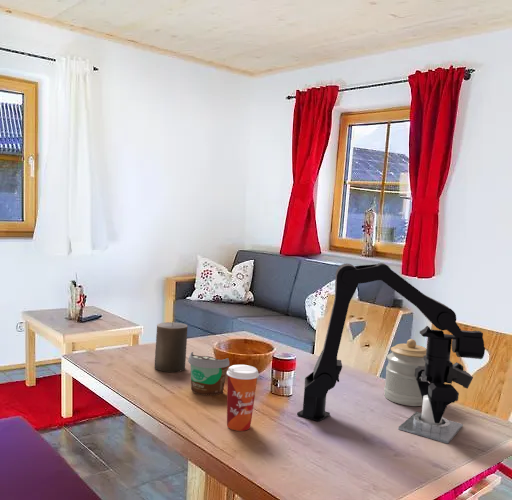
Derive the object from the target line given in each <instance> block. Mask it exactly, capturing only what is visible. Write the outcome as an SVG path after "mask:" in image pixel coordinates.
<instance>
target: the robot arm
mask: <svg viewBox="0 0 512 500" xmlns="http://www.w3.org/2000/svg"><path fill="white" fill-rule="evenodd" d="M334 278H335V280H334V281H335V282H334V286H335V287H334V300H333V304H332V309H331V313H330V318H329V322H328V327H327V330H326V336H325V338H324V339H325V340H324V344H323V348H322V350H321V352H320V354H319V356H318V358H317V360H316V363H315V364H314V367H313V371H312V372H311V373H310V374H308V375H307V376H305V378H304V388H303V389H304V392H303V402H302V403H303V404H302V409H301V410H300V411H298V412H297V413H296V416H299V417H303V418H306V419H309V420H312V421H315V422H321V421H322V420H323V421H324V419H326V418H327V417H329V416H330V415H331V412H329V411H326V403H327V394H328V392H329V391H330V390H331V389H333V388H335V386H336V384H337V383H339V382H340V375H341V371H342V369H343V364H342V360H341V359H338V354H339V350H340V344H341V342H342V336H343V332H344V328H345V325H346V324H345V323H346V318H347V316H348V312H349V306H350V303H351V300H352V299H353V297H354V295H355V293H356V290H357V288H358V286H359V284H367V283H372V282H376V281H382V282H383V283H384V284H385V285H387V286H388V287H390V289H391V288H392V290H394V291H395V292H396V293H397V294H399V295H400V296H402V297H403V298H404V299H406V300H407V301H408V302H410V303H411V304H412V305H413V306H415V307H416V308H417V309H418V311H420V313H422V315H423V316H424V317H425V318H426V319H427V320H428V321H429V323H431V325H433V326H434V327H436V329H431V327H430V326H429V325H426V326H425V327H424V328H423V329H421V330H419V334H420V336H422V337H424V338H427V339H426V356H425V355H424V358H423V359H424V361H425V366H418V367H417V368H416V369H415V377H416V381H417V384H418V387H419V390H420V393H421V396H422V400H423V396H425V395H428V399H429V403H430V407H431V411H432V415H433V418H434V422H435V423H440V421H441V418H442V416H443V417H444V413H445V411H446V409H447V408H448V406H449V405H451V404H454V403H455V402H458V401H459V397H460V396H459V395H460V393H459V391H457V389H456V388H455V387H454V386H453V385H452V384H453V382H454V383H455V384H457V385H460V386H462V388H465V389H469V387H470V385H471V382H472V381H473V379H474V377H473V376H472V375H471V374H470V373H469V372H467V371H466V370H464V365H462V364H461V363H459V362H454V363H453V362H452V361H451V350H452V353H454V354H455V355H456V357H457V358H466V359H473V360H474V359H475V360H476V359H478V360H482V359H483V358H484V357H485V353H486V346H485V341H484V333H483V332H482V331H481V330H463V329H462V328H461V327H460V326H459V324H458V323H457V314H456V312H455V311H454V310H453V309H452V308H450V307H448V306H447V305H445V303H441V302H440V301H439V300H438V301H437V300H436V299H434V298H432V297H430V296H428V295H426V294H424V293H423V292H421V291H420V290H419V289H418V288H417V287H415V286H414V285H412V284H411V283H410V282H408V281H407V280H406V279H404V278H403V277H401V276H400V275H399V274H397V273H396V272H395V271H393V270H392V269H391V268H390V266H389V265H388V264H386V263H383V262H379V263H376V264H375V263H374V264H363V265H361V264H360V265H353V264H352V263H343V264H341V265H339V266H338V267H337V269H336V271H335V277H334ZM444 331H447V332H449V334H448V333H444ZM446 407H447V408H446Z"/></svg>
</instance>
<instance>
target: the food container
mask: <svg viewBox="0 0 512 500" xmlns="http://www.w3.org/2000/svg"><path fill="white" fill-rule="evenodd" d="M187 363H189V364H190V388H191V391H192V393H194V392H195V393H194V394H197V395H201V396H216V395H220V394H223V393H224V388H225V384H226V383H225V381H226V376H227V371H228V367H230V366H231V365H230V360H229V357H227V358H225V359H224V358H223V359H218V358H216V357H213V356H205V355H204V356H203V355H202V356H201V355H197V354H196V355H195V354H194V351H191V352H190V353H189V356H188V360H187Z"/></svg>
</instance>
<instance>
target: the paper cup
mask: <svg viewBox="0 0 512 500" xmlns="http://www.w3.org/2000/svg"><path fill="white" fill-rule="evenodd" d="M259 375H260V373H259V371H258V368H256V367H255V366H252V365H247V364H233V365H230V366H228V368H227V371H226V376H227V387H226V389H227V393H226V397H227V398H226V399H227V400H226V425H227V428H228V429H230V430H232V431H237V432H239V431H240V432H241V431H242V432H243V431H248V430H249V429H250V428H251V423H252V418H253V412H254V403H255V397H256V396H255V395H256V390H257V383H258V378H259Z"/></svg>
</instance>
